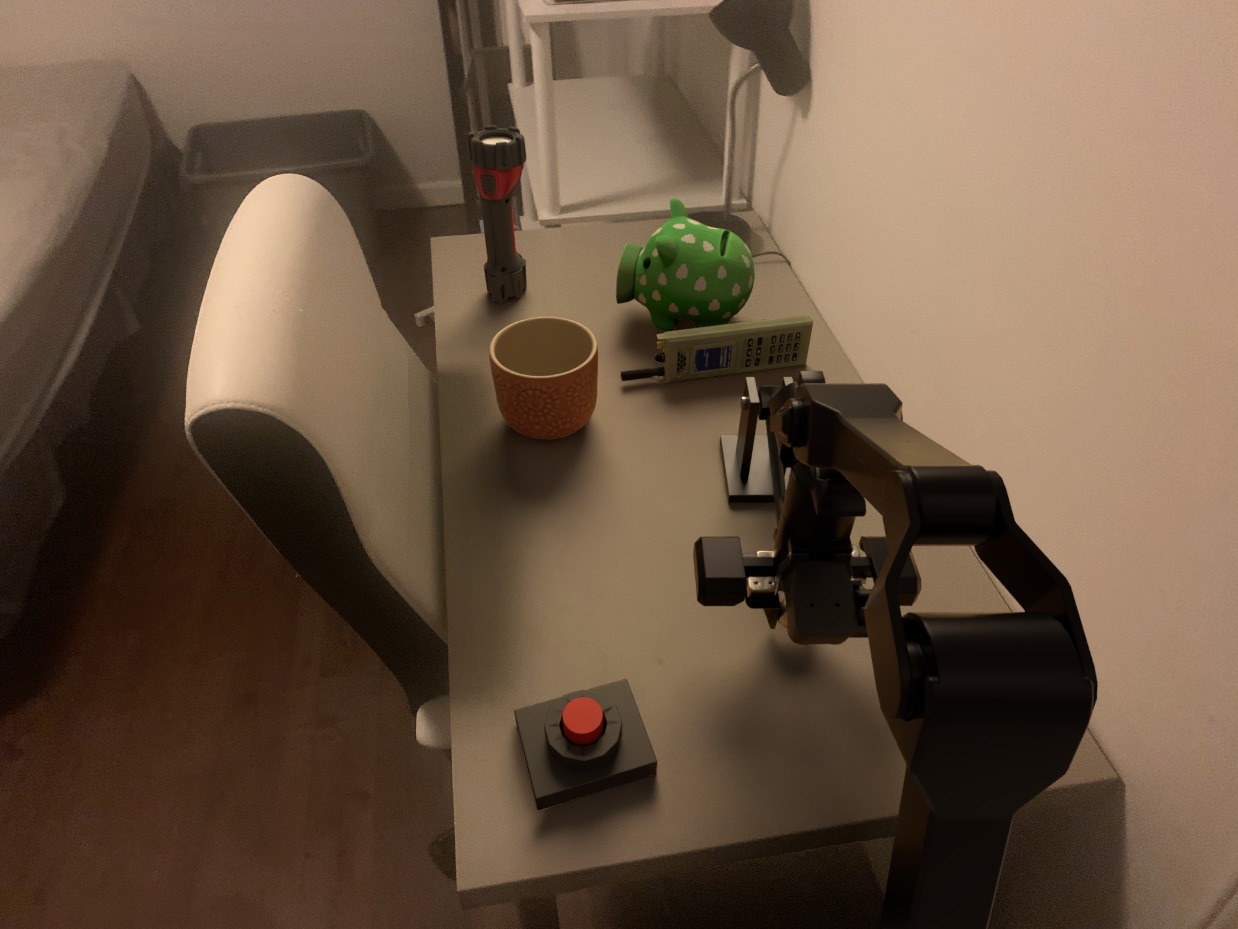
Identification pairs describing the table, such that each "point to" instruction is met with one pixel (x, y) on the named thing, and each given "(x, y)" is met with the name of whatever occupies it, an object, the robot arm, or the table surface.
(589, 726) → the stop button
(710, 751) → the table surface
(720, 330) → the handheld radio
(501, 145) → the flashlight
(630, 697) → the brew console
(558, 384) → the planter
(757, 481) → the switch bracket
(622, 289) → the piggy bank
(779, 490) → the power lever
